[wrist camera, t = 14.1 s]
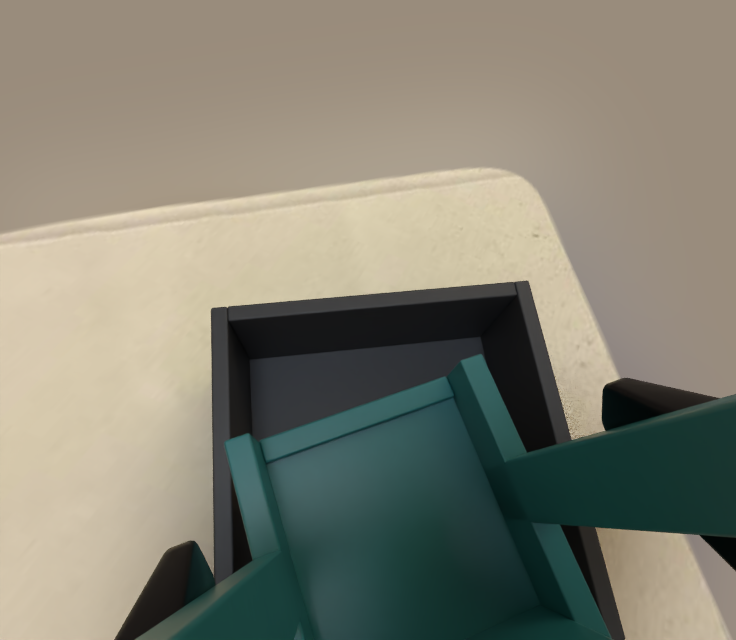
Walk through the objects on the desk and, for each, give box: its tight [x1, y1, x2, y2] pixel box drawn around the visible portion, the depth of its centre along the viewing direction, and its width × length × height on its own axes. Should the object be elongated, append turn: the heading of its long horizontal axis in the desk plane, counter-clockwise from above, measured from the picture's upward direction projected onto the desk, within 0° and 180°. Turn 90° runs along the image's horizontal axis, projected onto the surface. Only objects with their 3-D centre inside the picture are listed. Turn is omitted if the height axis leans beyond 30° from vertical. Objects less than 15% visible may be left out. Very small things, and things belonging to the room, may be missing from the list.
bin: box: [211, 281, 625, 640], centre depth 18 cm, size 12×12×6 cm
